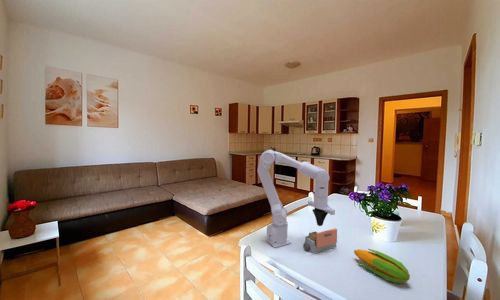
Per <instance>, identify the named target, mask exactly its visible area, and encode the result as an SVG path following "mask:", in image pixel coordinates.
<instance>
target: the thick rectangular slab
mask: <svg viewBox="0 0 500 300" xmlns="http://www.w3.org/2000/svg"><path fill="white" fill-rule="evenodd" d="M337 242H338V229H337V228H331V229H328V230H324V231H320V232H319V231H318V232H317V233H316V247H317V248H319V247H323V246H326V245H330V244H333V243H336V244H337Z"/></svg>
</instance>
